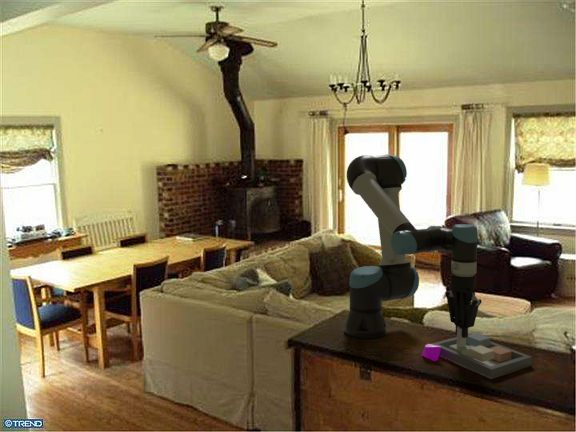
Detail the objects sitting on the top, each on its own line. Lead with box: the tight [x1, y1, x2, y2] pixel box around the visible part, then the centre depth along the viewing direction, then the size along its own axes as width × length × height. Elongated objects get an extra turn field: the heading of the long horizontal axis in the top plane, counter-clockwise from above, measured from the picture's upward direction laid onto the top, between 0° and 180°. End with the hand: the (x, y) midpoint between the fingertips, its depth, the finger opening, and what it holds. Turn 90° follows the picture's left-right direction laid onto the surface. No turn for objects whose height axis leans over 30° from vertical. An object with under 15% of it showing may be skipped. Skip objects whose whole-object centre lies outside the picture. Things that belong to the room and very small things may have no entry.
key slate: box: [467, 332, 492, 347], centre depth 177 cm, size 5×5×2 cm
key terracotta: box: [489, 346, 512, 362], centre depth 170 cm, size 5×5×2 cm
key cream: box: [469, 345, 494, 362], centre depth 166 cm, size 5×5×2 cm
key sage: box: [449, 344, 472, 357], centre depth 173 cm, size 5×5×2 cm
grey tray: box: [431, 333, 533, 380], centre depth 172 cm, size 24×18×3 cm
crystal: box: [421, 343, 441, 362], centre depth 173 cm, size 5×5×5 cm
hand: (461, 346), depth 173 cm, fingers closed
